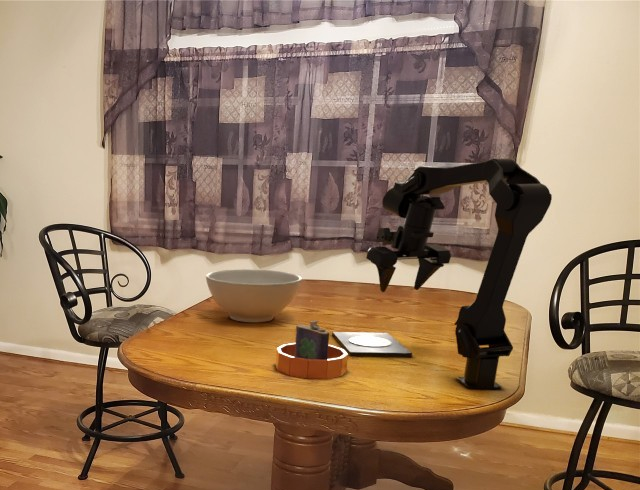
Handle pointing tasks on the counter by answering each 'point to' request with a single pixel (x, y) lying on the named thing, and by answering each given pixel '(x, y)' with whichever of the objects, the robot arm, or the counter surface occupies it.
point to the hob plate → (370, 344)
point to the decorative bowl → (252, 292)
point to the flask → (311, 342)
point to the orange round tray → (311, 363)
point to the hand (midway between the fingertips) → (399, 290)
